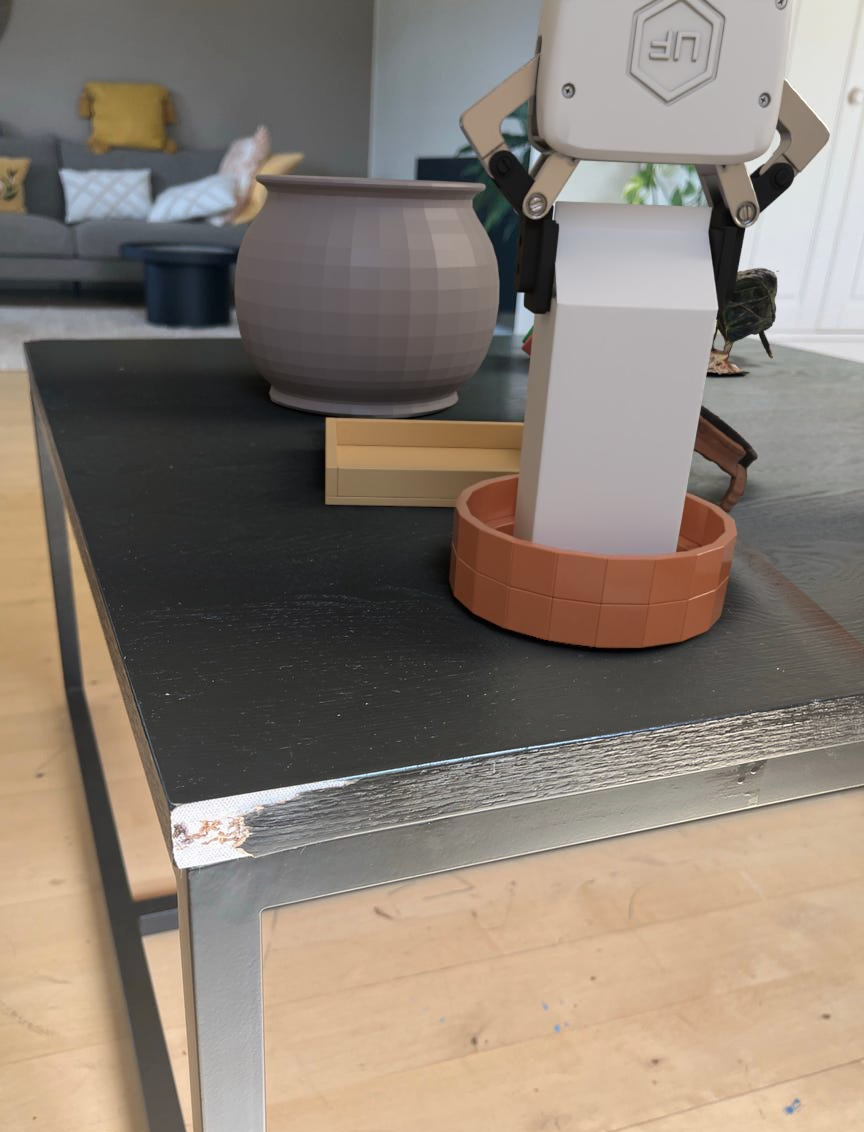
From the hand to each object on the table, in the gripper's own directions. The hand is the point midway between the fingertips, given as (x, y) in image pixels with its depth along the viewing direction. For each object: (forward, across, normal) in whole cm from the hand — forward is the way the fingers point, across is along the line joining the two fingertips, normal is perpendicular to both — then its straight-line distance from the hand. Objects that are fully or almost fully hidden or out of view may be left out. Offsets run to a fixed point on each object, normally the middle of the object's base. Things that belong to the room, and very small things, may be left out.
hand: (619, 310), depth 47 cm
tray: (+15, -5, +23) cm, 28 cm away
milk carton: (+15, 0, 0) cm, 15 cm away
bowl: (+15, 0, 0) cm, 15 cm away
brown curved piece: (+15, +10, +18) cm, 26 cm away
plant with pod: (+15, +34, +71) cm, 80 cm away
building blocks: (+15, +15, +71) cm, 74 cm away
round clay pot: (+15, -10, +50) cm, 53 cm away
